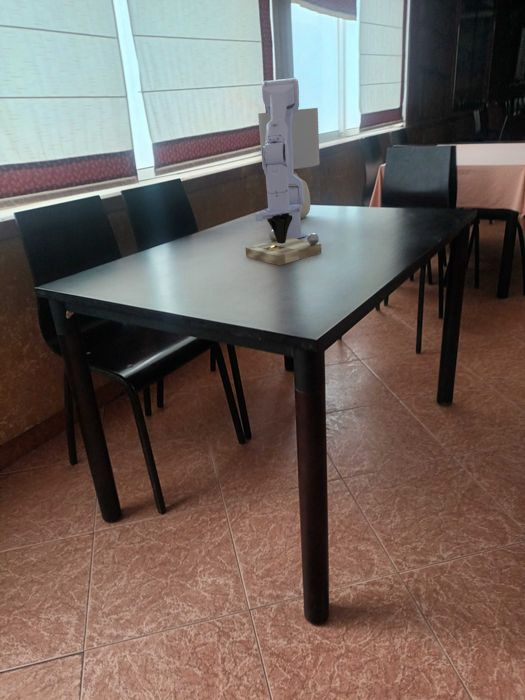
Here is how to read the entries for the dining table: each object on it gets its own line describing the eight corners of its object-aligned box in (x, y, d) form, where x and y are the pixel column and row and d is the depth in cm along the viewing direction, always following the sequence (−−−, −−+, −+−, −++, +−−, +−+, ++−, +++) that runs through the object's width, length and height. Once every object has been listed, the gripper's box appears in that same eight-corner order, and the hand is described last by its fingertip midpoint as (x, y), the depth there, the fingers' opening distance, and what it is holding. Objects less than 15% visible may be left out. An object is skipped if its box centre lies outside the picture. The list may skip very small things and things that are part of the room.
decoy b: (304, 245, 135) (304, 233, 133) (313, 242, 136) (313, 231, 135) (312, 246, 132) (312, 235, 131) (321, 244, 134) (321, 232, 133)
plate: (246, 256, 139) (245, 247, 138) (287, 245, 147) (286, 236, 146) (278, 265, 128) (278, 255, 127) (321, 252, 136) (321, 243, 135)
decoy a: (267, 241, 143) (266, 230, 142) (276, 238, 145) (275, 227, 143) (274, 242, 141) (273, 231, 139) (283, 240, 142) (282, 229, 141)
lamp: (270, 214, 194) (262, 111, 179) (322, 211, 191) (318, 105, 175) (263, 225, 176) (253, 111, 160) (320, 222, 173) (316, 105, 157)
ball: (265, 245, 135) (275, 244, 137) (266, 257, 136) (275, 256, 138) (272, 246, 133) (282, 245, 135) (273, 258, 134) (282, 257, 135)
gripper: (265, 197, 123) (269, 250, 129) (308, 188, 131) (310, 239, 137) (248, 195, 129) (253, 246, 134) (291, 186, 136) (294, 236, 142)
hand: (281, 242), depth 136 cm, fingers closed
